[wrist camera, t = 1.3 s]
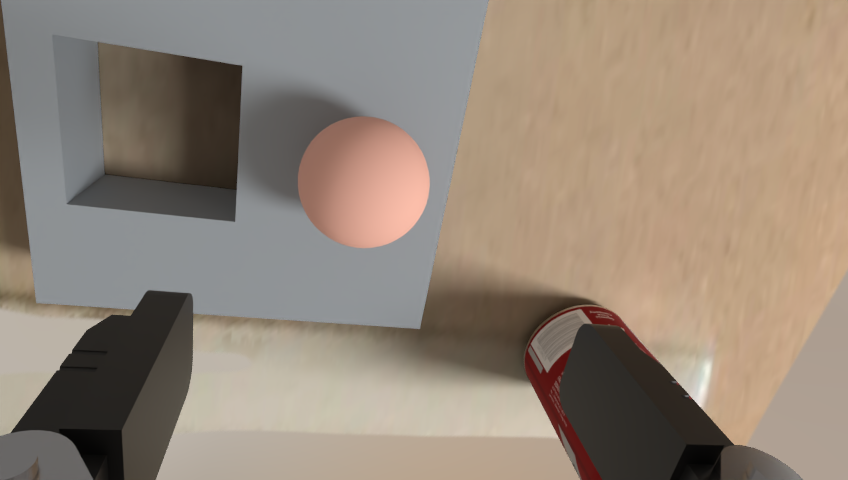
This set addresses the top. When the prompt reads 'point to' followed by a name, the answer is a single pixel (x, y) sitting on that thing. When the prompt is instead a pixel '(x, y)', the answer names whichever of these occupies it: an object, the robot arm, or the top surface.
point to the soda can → (548, 365)
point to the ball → (363, 182)
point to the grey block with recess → (257, 158)
